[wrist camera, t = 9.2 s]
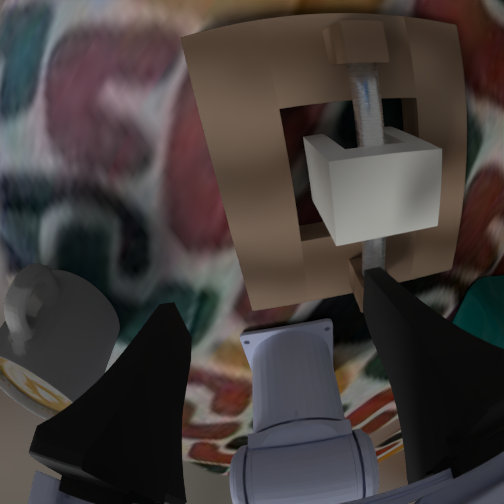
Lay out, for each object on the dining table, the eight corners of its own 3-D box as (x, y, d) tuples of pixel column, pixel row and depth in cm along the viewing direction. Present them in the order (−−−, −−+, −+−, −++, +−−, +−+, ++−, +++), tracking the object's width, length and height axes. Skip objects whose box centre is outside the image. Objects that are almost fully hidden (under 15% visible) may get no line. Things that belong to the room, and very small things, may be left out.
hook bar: (378, 278, 18) (385, 292, 17) (358, 282, 18) (365, 296, 17) (365, 44, 11) (377, 41, 9) (338, 44, 11) (348, 41, 10)
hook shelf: (440, 255, 21) (469, 293, 17) (252, 292, 23) (253, 342, 19) (439, 27, 12) (487, 23, 7) (187, 42, 13) (164, 28, 9)
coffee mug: (115, 357, 28) (90, 439, 19) (37, 323, 25) (0, 394, 17) (132, 263, 21) (83, 371, 13) (29, 221, 19) (-45, 299, 10)
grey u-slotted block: (393, 186, 17) (437, 225, 13) (312, 199, 18) (336, 246, 13) (390, 126, 15) (442, 149, 11) (302, 136, 16) (328, 161, 11)
